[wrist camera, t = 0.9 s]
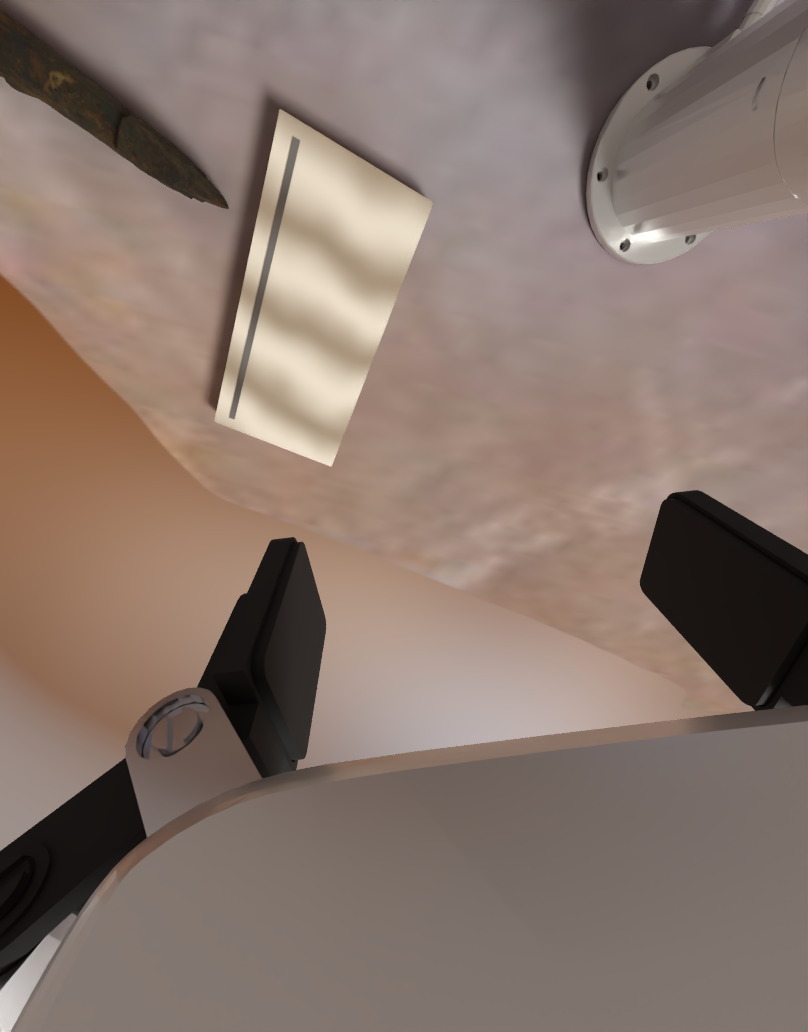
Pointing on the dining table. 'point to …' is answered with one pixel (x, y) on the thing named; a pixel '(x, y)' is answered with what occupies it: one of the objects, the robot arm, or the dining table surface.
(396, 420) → the dining table surface
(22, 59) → the hand tool
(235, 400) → the birch board
